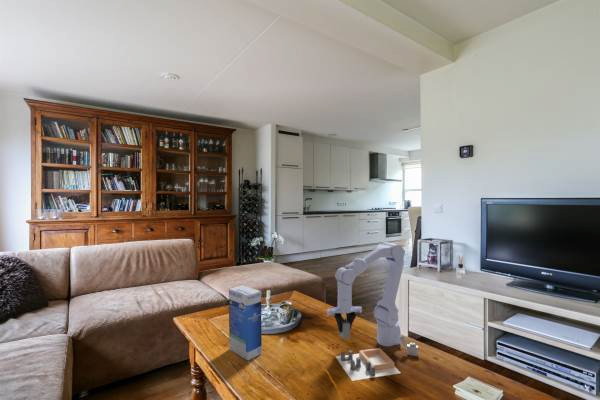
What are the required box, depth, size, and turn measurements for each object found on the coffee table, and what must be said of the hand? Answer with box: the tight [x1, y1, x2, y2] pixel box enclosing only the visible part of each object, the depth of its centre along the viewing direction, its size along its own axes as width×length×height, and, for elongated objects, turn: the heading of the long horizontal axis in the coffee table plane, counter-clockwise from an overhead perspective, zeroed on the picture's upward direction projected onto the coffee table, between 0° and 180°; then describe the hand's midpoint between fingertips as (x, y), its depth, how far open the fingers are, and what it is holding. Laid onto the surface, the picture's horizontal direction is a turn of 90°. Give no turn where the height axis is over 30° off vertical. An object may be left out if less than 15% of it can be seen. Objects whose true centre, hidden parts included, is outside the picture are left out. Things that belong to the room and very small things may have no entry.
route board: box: [335, 350, 401, 382], centre depth 114 cm, size 19×16×4 cm
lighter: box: [399, 334, 419, 357], centre depth 122 cm, size 7×2×8 cm, turn 72°
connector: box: [338, 317, 351, 340], centre depth 123 cm, size 3×5×7 cm, turn 13°
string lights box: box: [228, 284, 263, 361], centre depth 124 cm, size 13×8×26 cm, turn 47°
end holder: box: [358, 347, 395, 371], centre depth 116 cm, size 9×11×2 cm
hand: (344, 330), depth 123 cm, fingers closed on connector, 3 cm apart
